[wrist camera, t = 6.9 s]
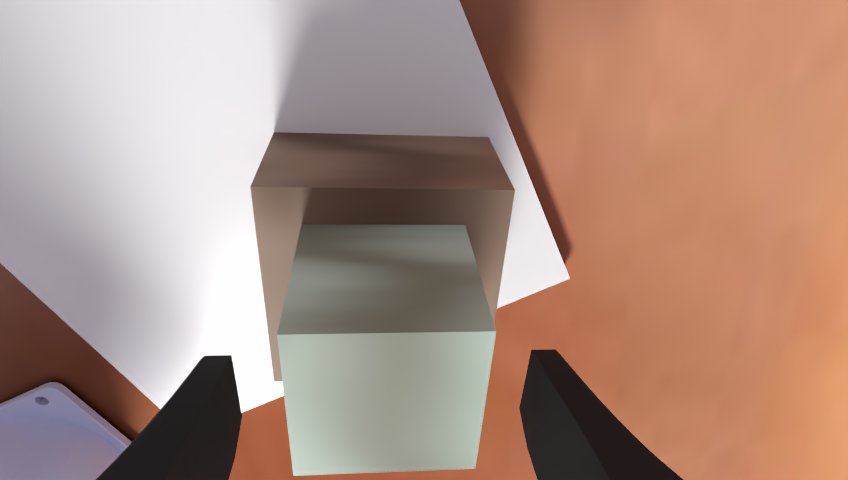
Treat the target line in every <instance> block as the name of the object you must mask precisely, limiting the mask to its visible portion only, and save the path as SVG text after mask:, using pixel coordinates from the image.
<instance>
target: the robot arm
mask: <svg viewBox="0 0 848 480" xmlns="http://www.w3.org/2000/svg"><path fill="white" fill-rule="evenodd" d="M520 413H521V418H522V423H523V429H524V434H525V438H526V443H527V448H528V451H529V454H530V457H531V460H532V463H533V466H534V470H535V473H536V476H537V479H538V480H683V479H682V478H681V477H679V476H678V475H677V474H676V473H675V472H673V471H672V470H671V469H670V468H669V467H668V466H666V465H665V464H664V463H663V462H662V461H661V460H659V459H658V458H657V457H656V456H655V455H654V454H653V453H652V452H650V451H649V450H648V449H647V448H646V447H645V446H644V445H643V444H642V443H641V442H640V441H639V440H638V439H637V438H636V437H635V436H634V435H633V434H632V433H631V432H630V431H629V430H628V429H627V428H626V427H625V426H624V425H623V424H622V423H621V422H620V421H619V420H618V419H617V418H616V417H615V416H614V415H613V414H612V413H611V412H610V411H609V410H608V408H607V407H606V406H605V405H604V404H603V403H602V402H601V401H600V400H599V399H598V398H597V397H596V395H595V394H594V393H593V392H592V391H591V390H590V389H589V388H588V386H587V385H586V384H585V383H584V382H583V381H582V379H581V378H580V377H579V376H578V375H577V374H576V373H575V371H574V370H573V369H572V368H571V367H570V365H569V364H568V363H567V362H566V361H565V360H564V358H563V357H562V356H561V355H560V354H559V353H558V352H557V351H556V350H531V355H530V360H529V365H528V370H527V375H526V379H525V384H524V389H523V394H522V399H521V404H520ZM241 418H242V414H241V408H240V402H239V396H238V390H237V385H236V379H235V373H234V367H233V361H232V355H213V356H204V357H203V358H202V359H200V361H199V362H198V363H197V365H196V366H195V367H194V369H193V370H192V371H191V372H190V374H189V375H188V376H187V378H186V379H185V380H184V381H183V383H182V384H181V385H180V386H179V388H178V389H177V390H176V391H175V393H174V394H173V395H172V396H171V398H170V399H169V400H168V401H167V403H166V404H165V405H164V406H163V407H162V408H161V410H160V411H159V412H158V413H157V414H156V415H155V417H154V418H153V419H152V420H151V421H150V423H149V424H148V425H147V426H146V427H145V428H144V429H143V431H142V432H141V433H140V434H139V435H138V436H137V437H136V438H135V439H134V440H133V441H132V442H131V441H130V440H129V439H128V438H126V437H125V436H124V435H123V434H122V433H120V432H119V431H118V430H117V429H116V428H114V427H113V426H112V425H111V424H110V423H108V422H107V421H106V420H105V419H104V418H102V417H101V416H100V415H99V414H98V413H96V412H95V411H94V410H93V409H92V408H90V407H89V406H88V405H87V404H86V403H84V402H83V401H82V400H81V399H80V398H78V397H77V396H76V395H75V394H74V393H72V392H71V391H70V390H69V389H68V388H66V387H65V386H64V385H62V384H60V383H57V382H49V383H46V384H43V385H41V386H39V387H37V388H35V389H32V390H30V391H28V392H26V393H23V394H21V395H19V396H17V397H14V398H12V399H10V400H8V401H5V402H3V403H1V404H0V480H228V479H229V476H230V472H231V469H232V465H233V462H234V458H235V453H236V447H237V442H238V436H239V430H240V424H241Z"/></svg>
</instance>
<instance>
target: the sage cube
mask: <svg viewBox="0 0 848 480" xmlns="http://www.w3.org/2000/svg"><path fill="white" fill-rule="evenodd" d="M495 336H496V329H495V326H494V322H493V319H492V315H491V312H490V308H489V305H488V302H487V298H486V295H485V291H484V288H483V284H482V281H481V277H480V274H479V271H478V267H477V264H476V260H475V257H474V253H473V250H472V247H471V243H470V240H469V236H468V233H467V229H466V226H465V225H342V224H301V229H300V233H299V238H298V242H297V247H296V251H295V256H294V260H293V265H292V269H291V274H290V278H289V283H288V287H287V292H286V296H285V301H284V305H283V310H282V314H281V319H280V323H279V328H278V332H277V339H278V348H279V356H280V365H281V373H282V382H283V391H284V399H285V408H286V416H287V425H288V434H289V442H290V451H291V459H292V468H293V476H300V475H325V474H351V473H376V472H402V471H427V470H452V469H475V467H476V460H477V454H478V447H479V441H480V434H481V427H482V421H483V414H484V408H485V401H486V395H487V388H488V382H489V375H490V368H491V362H492V355H493V349H494V342H495Z"/></svg>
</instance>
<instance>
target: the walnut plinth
mask: <svg viewBox="0 0 848 480" xmlns="http://www.w3.org/2000/svg"><path fill="white" fill-rule="evenodd" d="M250 188H251V196H252V205H253V213H254V221H255V229H256V238H257V246H258V254H259V262H260V271H261V279H262V287H263V295H264V304H265V312H266V320H267V328H268V337H269V345H270V353H271V361H272V370H273V378H274V382H280V381H282V373H281V365H280V356H279V348H278V339H277V332H278V328H279V323H280V319H281V314H282V310H283V305H284V301H285V296H286V292H287V287H288V283H289V278H290V274H291V269H292V265H293V260H294V256H295V251H296V247H297V242H298V238H299V233H300V229H301V224H342V225H465V226H466V229H467V233H468V236H469V240H470V243H471V247H472V250H473V253H474V257H475V260H476V264H477V267H478V271H479V274H480V277H481V281H482V284H483V288H484V291H485V295H486V298H487V302H488V305H489V308H490V312H491V315H492V319H493V322H494V323H495V317H496V310H497V304H498V297H499V291H500V284H501V278H502V271H503V265H504V258H505V252H506V245H507V239H508V232H509V226H510V220H511V213H512V207H513V200H514V194H515V189H514V187H513V185H512V183H511V181H510V179H509V177H508V175H507V173H506V171H505V169H504V167H503V165H502V163H501V161H500V159H499V157H498V155H497V153H496V151H495V149H494V147H493V145H492V143H491V141H490V139H489V137H463V136H419V135H375V134H330V133H286V132H274V133H273V135H272V138H271V140H270V142H269V145H268V147H267V149H266V152H265V154H264V156H263V158H262V161H261V163H260V165H259V168H258V170H257V172H256V175H255V177H254V179H253V182H252V184H251V186H250Z"/></svg>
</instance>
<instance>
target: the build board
mask: <svg viewBox="0 0 848 480" xmlns="http://www.w3.org/2000/svg"><path fill="white" fill-rule="evenodd" d="M274 132H286V133H330V134H375V135H419V136H463V137H489V139H490V141H491V143H492V145H493V147H494V149H495V151H496V153H497V155H498V157H499V159H500V161H501V163H502V165H503V167H504V169H505V171H506V173H507V175H508V177H509V179H510V181H511V183H512V185H513V187H514V189H515V194H514V200H513V207H512V213H511V220H510V226H509V232H508V239H507V245H506V252H505V258H504V265H503V271H502V278H501V284H500V291H499V297H498V304H497V308H499V307H502V306H504V305H506V304H509V303H511V302H514V301H516V300H519V299H521V298H524V297H526V296H528V295H531V294H533V293H536V292H538V291H541V290H543V289H546V288H548V287H551V286H553V285H555V284H558V283H560V282H563V281H565V280H568V279H570V277H569V275H568V272H567V270H566V267H565V265H564V262H563V260H562V257H561V255H560V252H559V250H558V247H557V245H556V242H555V240H554V237H553V235H552V232H551V230H550V227H549V225H548V222H547V220H546V217H545V214H544V212H543V209H542V207H541V204H540V202H539V199H538V197H537V194H536V192H535V189H534V187H533V184H532V182H531V179H530V177H529V174H528V172H527V169H526V167H525V164H524V162H523V159H522V157H521V154H520V152H519V149H518V147H517V144H516V141H515V139H514V136H513V134H512V131H511V129H510V126H509V124H508V121H507V119H506V116H505V114H504V111H503V109H502V106H501V104H500V101H499V99H498V96H497V94H496V91H495V89H494V86H493V84H492V81H491V79H490V76H489V74H488V71H487V68H486V66H485V63H484V61H483V58H482V56H481V53H480V51H479V48H478V46H477V43H476V41H475V38H474V36H473V33H472V31H471V28H470V26H469V23H468V21H467V18H466V16H465V13H464V11H463V8H462V6H461V3H460V1H459V0H0V263H1V264H2V265H3V266H4V267H5V268H6V269H7V270H8V271H9V272H11V273H12V274H13V275H14V276H15V277H16V278H17V279H18V280H19V281H20V282H22V283H23V284H24V285H25V286H26V287H27V288H28V289H29V290H30V291H31V292H32V293H34V294H35V295H36V296H37V297H38V298H39V299H40V300H41V301H42V302H43V303H45V304H46V305H47V306H48V307H49V308H50V309H51V310H52V311H53V312H54V313H56V314H57V315H58V316H59V317H60V318H61V319H62V320H63V321H64V322H65V323H66V324H68V325H69V326H70V327H71V328H72V329H73V330H74V331H75V332H76V333H77V334H79V335H80V336H81V337H82V338H83V339H84V340H85V341H86V342H87V343H88V344H90V345H91V346H92V347H93V348H94V349H95V350H96V351H97V352H98V353H99V354H101V355H102V356H103V357H104V358H105V359H106V360H107V361H108V362H109V363H110V364H111V365H113V366H114V367H115V368H116V369H117V370H118V371H119V372H120V373H121V374H122V375H124V376H125V377H126V378H127V379H128V380H129V381H130V382H131V383H132V384H133V385H135V386H136V387H137V388H138V389H139V390H140V391H141V392H142V393H143V394H144V395H145V396H147V397H148V398H149V399H150V400H151V401H152V402H153V403H154V404H155V405H156V406H158V407H159V408H160V409H161V408H162V407H163V406H164V405H165V404H166V403H167V401H168V400H169V399H170V398H171V396H172V395H173V394H174V393H175V391H176V390H177V389H178V388H179V386H180V385H181V384H182V383H183V381H184V380H185V379H186V378H187V376H188V375H189V374H190V372H191V371H192V370H193V369H194V367H195V366H196V365H197V363H198V362H199V361H200V359H202V358H203V357H204V356H213V355H232V361H233V367H234V373H235V379H236V385H237V390H238V396H239V402H240V408H241V413H242V412H245V411H247V410H249V409H252V408H254V407H257V406H259V405H262V404H264V403H267V402H269V401H272V400H274V399H276V398H279V397H281V396H284V391H283V382H282V381H280V382H274V378H273V370H272V361H271V353H270V345H269V337H268V328H267V320H266V312H265V304H264V295H263V287H262V279H261V271H260V262H259V254H258V246H257V238H256V229H255V221H254V213H253V205H252V196H251V188H250V186H251V184H252V182H253V179H254V177H255V175H256V172H257V170H258V168H259V165H260V163H261V161H262V158H263V156H264V154H265V152H266V149H267V147H268V145H269V142H270V140H271V138H272V135H273V133H274Z"/></svg>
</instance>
